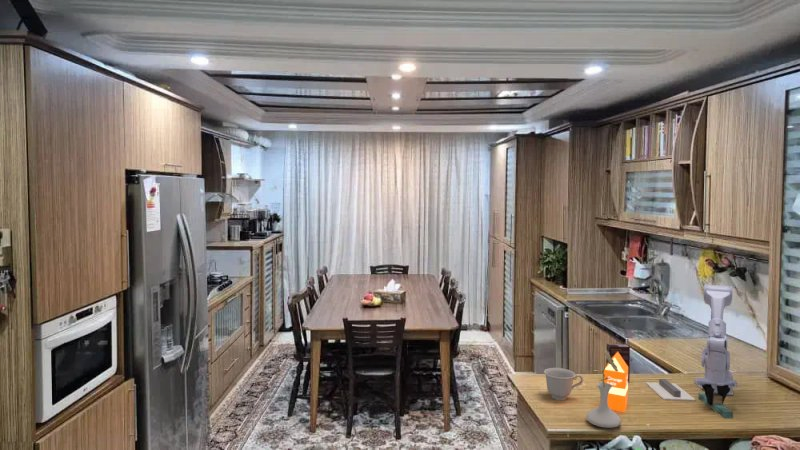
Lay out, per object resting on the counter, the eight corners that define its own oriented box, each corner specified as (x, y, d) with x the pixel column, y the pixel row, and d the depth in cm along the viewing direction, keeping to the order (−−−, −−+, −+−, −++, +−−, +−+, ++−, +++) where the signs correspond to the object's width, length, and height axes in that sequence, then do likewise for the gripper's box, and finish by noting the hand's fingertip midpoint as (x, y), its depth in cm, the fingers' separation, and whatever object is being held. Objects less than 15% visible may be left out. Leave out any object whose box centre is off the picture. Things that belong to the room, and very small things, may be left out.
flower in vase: (619, 434, 168) (621, 360, 166) (583, 426, 173) (585, 354, 172) (623, 419, 179) (625, 350, 178) (589, 412, 184) (591, 345, 183)
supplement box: (625, 379, 220) (626, 343, 219) (629, 383, 215) (630, 346, 215) (605, 378, 221) (606, 343, 220) (608, 382, 216) (609, 346, 215)
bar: (698, 399, 199) (698, 385, 199) (706, 399, 199) (706, 385, 198) (723, 418, 181) (724, 403, 181) (732, 418, 181) (733, 403, 180)
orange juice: (627, 404, 193) (629, 352, 192) (624, 412, 185) (626, 358, 184) (605, 399, 197) (607, 349, 196) (602, 407, 189) (603, 355, 188)
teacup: (585, 405, 191) (585, 379, 191) (544, 402, 194) (545, 376, 194) (580, 393, 203) (580, 369, 203) (542, 390, 206) (542, 366, 206)
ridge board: (674, 384, 214) (675, 377, 214) (695, 401, 196) (696, 393, 196) (645, 383, 215) (645, 376, 215) (663, 399, 197) (663, 392, 197)
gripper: (701, 371, 186) (700, 407, 186) (742, 372, 184) (741, 409, 185) (691, 365, 193) (690, 400, 193) (731, 366, 192) (730, 401, 192)
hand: (714, 404), depth 190 cm, fingers closed on bar, 3 cm apart
